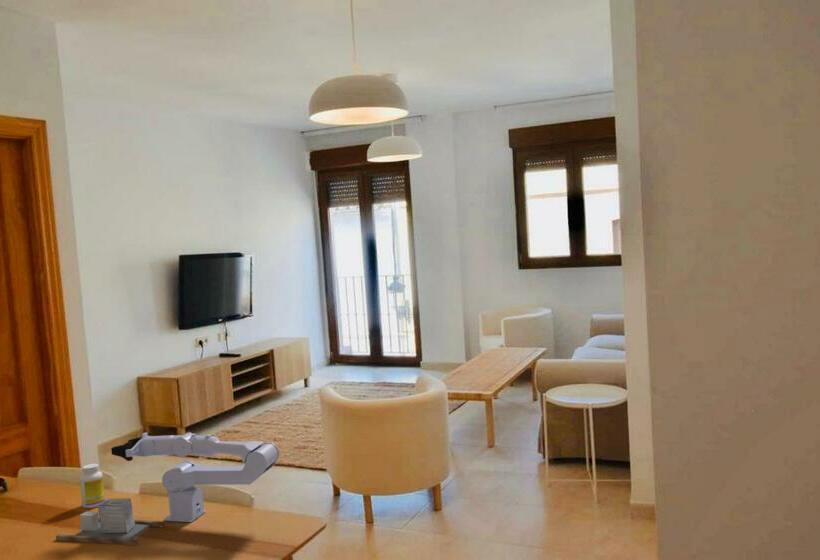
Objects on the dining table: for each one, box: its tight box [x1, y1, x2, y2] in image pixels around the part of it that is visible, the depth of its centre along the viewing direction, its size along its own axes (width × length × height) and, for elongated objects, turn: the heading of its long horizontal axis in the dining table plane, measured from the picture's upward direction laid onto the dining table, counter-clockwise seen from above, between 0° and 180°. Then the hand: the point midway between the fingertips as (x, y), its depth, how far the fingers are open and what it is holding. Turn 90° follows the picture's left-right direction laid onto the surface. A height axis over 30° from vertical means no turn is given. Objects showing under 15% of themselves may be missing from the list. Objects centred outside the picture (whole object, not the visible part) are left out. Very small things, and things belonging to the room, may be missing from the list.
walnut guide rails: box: [55, 517, 164, 546], centre depth 185 cm, size 26×13×1 cm, turn 76°
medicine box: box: [97, 497, 135, 533], centre depth 184 cm, size 8×4×9 cm, turn 84°
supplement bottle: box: [79, 463, 106, 509], centre depth 207 cm, size 7×7×13 cm
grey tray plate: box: [75, 511, 150, 539], centre depth 185 cm, size 18×9×5 cm, turn 76°
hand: (120, 447), depth 197 cm, fingers open, 7 cm apart
